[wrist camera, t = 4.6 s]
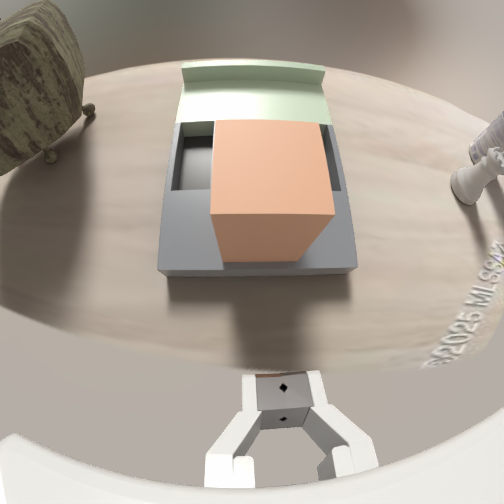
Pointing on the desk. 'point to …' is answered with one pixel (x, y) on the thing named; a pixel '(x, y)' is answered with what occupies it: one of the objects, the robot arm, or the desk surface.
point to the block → (268, 189)
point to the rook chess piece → (477, 176)
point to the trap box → (201, 160)
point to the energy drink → (488, 140)
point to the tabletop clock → (38, 83)
